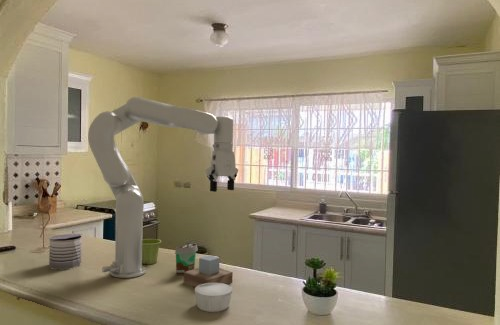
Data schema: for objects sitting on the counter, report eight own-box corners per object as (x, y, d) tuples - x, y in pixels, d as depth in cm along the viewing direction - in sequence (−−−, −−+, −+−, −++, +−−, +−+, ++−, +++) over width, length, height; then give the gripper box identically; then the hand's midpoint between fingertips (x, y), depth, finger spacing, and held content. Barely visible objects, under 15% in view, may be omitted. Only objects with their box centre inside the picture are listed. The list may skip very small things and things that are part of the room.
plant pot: (133, 261, 154) (133, 240, 153) (155, 258, 159) (155, 237, 159) (142, 267, 146) (142, 245, 146) (164, 263, 152) (165, 242, 152)
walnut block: (207, 292, 123) (207, 280, 123) (183, 283, 131) (183, 272, 131) (232, 283, 132) (232, 272, 132) (208, 275, 140) (209, 264, 140)
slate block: (209, 275, 128) (209, 260, 128) (198, 272, 131) (199, 258, 131) (219, 271, 132) (219, 257, 132) (208, 268, 135) (209, 255, 135)
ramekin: (213, 296, 119) (213, 279, 119) (239, 305, 112) (240, 288, 112) (186, 306, 110) (186, 288, 110) (213, 317, 103) (213, 298, 103)
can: (57, 272, 138) (58, 239, 138) (43, 265, 145) (43, 234, 145) (87, 265, 147) (87, 234, 147) (72, 259, 154) (72, 230, 154)
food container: (190, 277, 136) (191, 249, 136) (174, 275, 137) (175, 248, 137) (201, 267, 148) (202, 242, 148) (186, 265, 149) (187, 240, 149)
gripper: (214, 147, 140) (213, 192, 140) (244, 148, 153) (243, 190, 154) (200, 146, 145) (199, 191, 145) (231, 148, 158) (230, 188, 158)
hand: (222, 190), depth 149 cm, fingers open, 9 cm apart
